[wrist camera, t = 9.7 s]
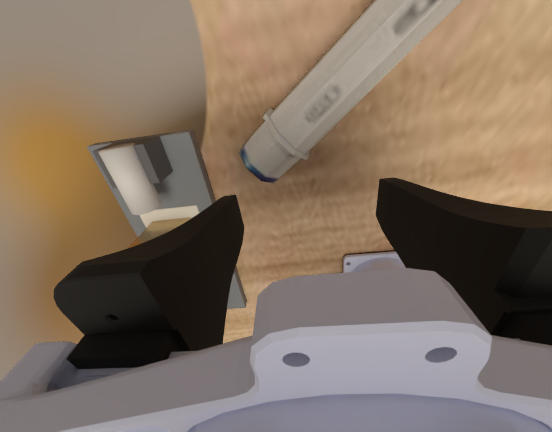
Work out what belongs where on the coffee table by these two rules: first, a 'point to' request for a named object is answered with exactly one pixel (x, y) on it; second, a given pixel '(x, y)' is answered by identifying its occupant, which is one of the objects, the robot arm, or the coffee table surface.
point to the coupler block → (158, 229)
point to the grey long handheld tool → (340, 82)
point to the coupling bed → (160, 183)
